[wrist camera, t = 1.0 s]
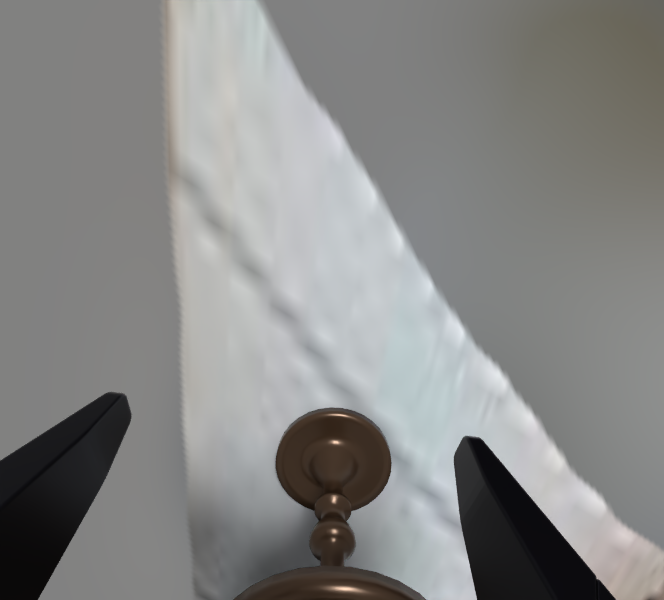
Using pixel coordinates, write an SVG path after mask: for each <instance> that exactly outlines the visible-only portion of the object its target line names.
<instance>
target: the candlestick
mask: <svg viewBox="0 0 664 600" xmlns="http://www.w3.org/2000/svg"><path fill="white" fill-rule="evenodd" d="M276 471H277V475H278V479H279V481H280V483H281V485H282V487H283V488H284V489H285V491H286V492H287V493H288V495H289V496H291V497H292V498H293V499H294V500H295V501H296V502H298V503H300V504H301V505H303V506H304V507H307V508H309V509H312V510H314V511H315V515H316V517H317V519H318V520H319V522H318V523H317V524H316V526H315V527H314V529H313V530H312V532H311V535H310V540H309V546H310V549H311V551H312V553H313V555H314V556H315V557H316V558H317V559H318V560H320V561H321V565H320V566H316V567H307V568H298V569H294V570H291V571H287V572H283V573H280V574H276V575H273V576H271V577H269V578H267V579H265V580H262V581H260V582H258V583H256V584H254V585H252V586H251V587H249V588H248V589H246V590H245V591H244V592H242V593H241V594H240V595H238V596H237V597H236V598H234V599H233V600H426V599H425V598H424V597H423V596H422V595H421V594H420V593H418V592H416V591H415V590H413V589H411V588H410V587H408V586H406V585H405V584H403V583H401V582H400V581H398V580H395V579H392V578H390V577H387V576H384V575H382V574H379V573H377V572H373V571H368V570H363V569H358V568H353V567H344V561H346V560H347V559H349V558H350V557H351V555H352V554H353V552H354V550H355V547H356V539H355V535H354V532H353V530H352V529H351V527H350V526H349V524H348V523H347V522H346V521H347V520H348V519H349V517H350V515H351V511H353V510H357V509H359V508H361V507H363V506H365V505H367V504H369V503H370V502H371V501H373V500H374V499H375V498H376V497H377V496H378V495H379V494H380V493H381V492H382V491H383V489H384V487H385V486H386V484H387V482H388V479H389V476H390V473H391V456H390V451H389V446H388V443H387V441H386V438H385V436H384V435H383V433H382V431H381V430H380V428H379V427H378V426H377V425H376V424H375V423H374V422H373V421H371V420H370V419H368V418H367V417H365V416H364V415H362V414H360V413H357V412H355V411H352V410H348V409H343V408H324V409H318V410H315V411H312V412H309V413H307V414H305V415H303V416H301V417H299V418H298V419H297V420H296V421H294V422H293V423H292V424H291V425H290V426H289V427H288V429H287V430H286V431H285V432H284V434H283V436H282V438H281V440H280V443H279V447H278V452H277V456H276Z"/></svg>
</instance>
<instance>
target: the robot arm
mask: <svg viewBox="0 0 664 600" xmlns="http://www.w3.org/2000/svg"><path fill="white" fill-rule="evenodd" d="M130 421H131V410H130V407H129V404H128V400H127V396H126V395H125V394H123V393H116V392H108V393H106V394H104V395H102V396H101V397H99V398H97V399H96V400H94V401H93V402H91V403H90V404H88V405H87V406H85V407H83V408H82V409H80V410H79V411H77V412H76V413H74V414H72V415H71V416H69V417H68V418H66V419H65V420H63V421H61V422H60V423H58V424H57V425H55V426H54V427H52V428H51V429H49V430H47V431H46V432H44V433H43V434H41V435H40V436H38V437H37V438H35V439H33V440H32V441H30V442H29V443H27V444H25V445H24V446H22V447H21V448H19V449H18V450H16V451H15V452H13V453H11V454H10V455H8V456H7V457H5V458H4V459H2V460H1V461H0V600H38V598H39V597H40V595H41V593H42V591H43V590H44V588H45V586H46V584H47V582H48V581H49V579H50V577H51V575H52V573H53V572H54V570H55V568H56V566H57V565H58V563H59V561H60V559H61V557H62V556H63V553H64V552H65V550H66V548H67V547H68V545H69V543H70V541H71V540H72V538H73V536H74V534H75V533H76V531H77V529H78V527H79V525H80V524H81V522H82V520H83V518H84V517H85V515H86V513H87V511H88V509H89V507H90V506H91V504H92V502H93V501H94V499H95V497H96V495H97V493H98V492H99V490H100V488H101V486H102V484H103V482H104V480H105V478H106V476H107V474H108V472H109V470H110V468H111V465H112V463H113V461H114V458H115V456H116V454H117V452H118V449H119V447H120V445H121V442H122V440H123V437H124V435H125V433H126V431H127V429H128V426H129V424H130ZM454 468H455V477H456V486H457V495H458V504H459V513H460V520H461V526H462V531H463V536H464V540H465V545H466V550H467V554H468V559H469V564H470V568H471V573H472V577H473V582H474V587H475V591H476V596H477V600H616V599H615V598H614V597H613V595H612V594H611V593H610V592H609V591H608V589H607V588H606V587H605V586H604V585H603V583H602V582H601V581H600V580H598V579H596V575H595V574H594V573H593V572H592V570H591V569H590V568H589V567H588V566H587V564H586V563H585V562H584V561H583V560H582V559H581V557H580V556H579V555H578V554H577V553H576V551H575V550H574V549H573V548H572V547H571V545H570V544H569V543H568V542H567V541H566V539H565V538H564V537H563V536H562V535H561V533H560V532H559V531H558V530H557V529H556V527H555V526H554V525H553V524H552V523H551V521H550V520H549V519H548V518H547V517H546V515H545V514H544V513H543V512H542V511H541V509H540V508H539V507H538V506H537V505H536V503H535V502H534V501H533V500H532V499H531V497H530V496H529V495H528V494H527V493H526V491H525V490H524V489H523V488H522V487H521V485H520V484H519V483H518V482H517V481H516V479H515V478H514V477H513V476H512V475H511V473H510V472H509V471H508V470H507V469H506V467H505V466H504V465H503V464H502V463H501V462H500V460H499V459H498V458H497V457H496V456H495V454H494V453H493V452H492V451H491V450H490V448H489V447H488V446H487V445H486V444H485V442H484V441H483V440H482V439H481V438H479V437H473V436H465V437H463V439H462V440H461V442H460V444H459V446H458V448H457V450H456V452H455V455H454Z"/></svg>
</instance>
